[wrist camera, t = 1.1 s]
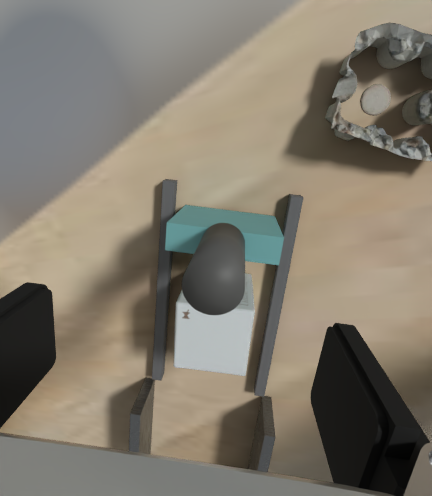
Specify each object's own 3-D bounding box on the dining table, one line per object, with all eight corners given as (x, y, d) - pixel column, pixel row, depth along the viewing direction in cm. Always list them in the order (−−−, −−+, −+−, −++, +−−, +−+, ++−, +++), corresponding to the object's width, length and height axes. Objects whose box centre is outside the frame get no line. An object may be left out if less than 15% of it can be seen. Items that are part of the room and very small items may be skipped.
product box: (187, 320, 32) (170, 368, 25) (190, 266, 30) (174, 301, 23) (246, 328, 32) (246, 378, 25) (253, 273, 30) (255, 310, 23)
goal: (271, 397, 34) (278, 468, 26) (253, 481, 38) (255, 564, 30) (146, 377, 35) (118, 441, 27) (142, 462, 39) (116, 538, 31)
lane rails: (300, 195, 27) (303, 197, 26) (263, 388, 34) (264, 396, 33) (166, 179, 28) (162, 180, 27) (155, 371, 34) (152, 379, 33)
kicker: (275, 210, 27) (304, 269, 14) (270, 242, 28) (292, 326, 15) (185, 199, 28) (131, 246, 14) (183, 231, 29) (129, 303, 15)
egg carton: (313, 132, 26) (325, 129, 22) (351, 31, 24) (371, 8, 20) (436, 170, 26) (469, 174, 22) (486, 72, 23) (533, 58, 20)
